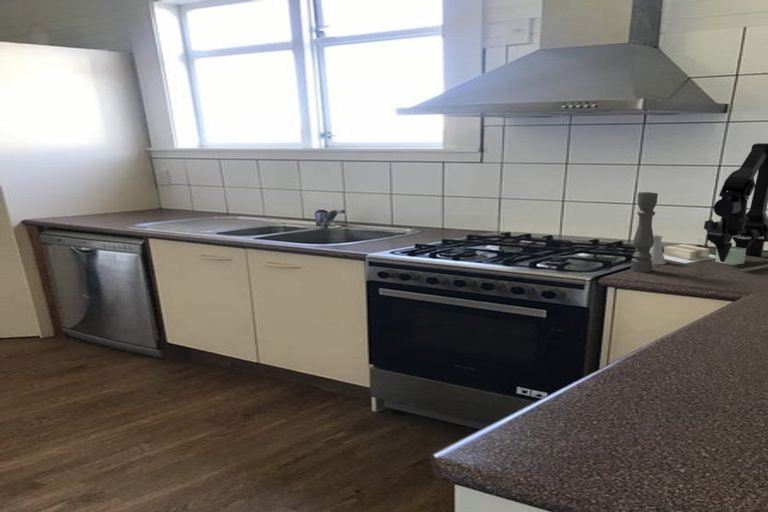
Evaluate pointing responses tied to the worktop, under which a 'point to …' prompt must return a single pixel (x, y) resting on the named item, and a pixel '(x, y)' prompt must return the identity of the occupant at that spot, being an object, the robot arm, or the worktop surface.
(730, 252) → the sage cube
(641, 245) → the candle holder
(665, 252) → the birch plinth
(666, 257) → the pale blue-grey board
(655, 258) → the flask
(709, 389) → the worktop surface
